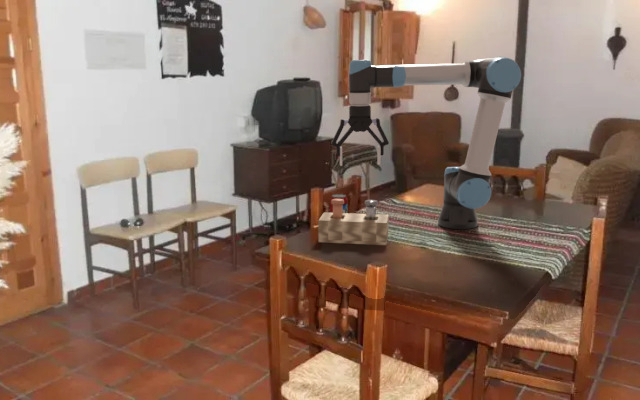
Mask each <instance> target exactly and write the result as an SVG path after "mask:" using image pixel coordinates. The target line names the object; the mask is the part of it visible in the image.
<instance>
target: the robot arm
mask: <svg viewBox="0 0 640 400" xmlns="http://www.w3.org/2000/svg"><path fill="white" fill-rule="evenodd" d="M348 70H349V71H348V86H349V87H348V90H349V91H348V94H349V95H348V97H349V98H348V99H349V100H348V102H349V103H348V104H350V105H349V108H348V110H349V111H348V113H349V115H348V116H349V117H348V119H344V118H341V119H340V121H339V126H338V129H337V130H336V132H335V135H334V136H333V139H332V140H331V146H333V147H335V148H336V156H337V157H339V166H340V167H343V146H342V145H343V144H344V143H345V141H346V140H347V139H348V138H349V137H350V135H351V134H352V133H353V132H356V133H359V132H362V133H364V132H366V131H367V132H368V133H369V134H370V136H371V137H372V138H373V139H374V140H375V141H376V142H377V143H378V145H377V153H376V155H377V162H376V163H377V165H378V166H381V161H382V160H381V156H383V155H384V154H385V153H384V150H385V149H384V147H385V146H388V145H389V143H390V142H389V140H388V138H387V136H386V134H385V131H384V130H383V128H382V126H381V121H380V119H379V118H378V117H377V118H373V119H372V114H371V113H372V112H371V111H372V110H371V109H372V108H371V107H372V106H371V105H370V104H372V103H371V100H372V99H371V98H372V96H371V95H372V89H371V88H374V89H375V88H395V89H396V88H402V87H405V86H448V85H451V86H452V85H453V86H454V85H455V86H456V85H458V86H459V85H463V87H464V88H477V94H478V96H479V98H480V99H479V103H478V107H477V112H476V117H475V121H474V125H473V129H472V132H471V133H472V134H471V137H470V141H469V145H468V148H467V152H466V153H467V154H466V156H465V157H466V158H465V161H464V163H463V164H461V166H447V167H446V168H445V170H444V174H443V177H444V180H443V181H444V182H443V203H442V206H441V209H440V213H439V215H438V220H437V224H438V225H439V226H441V227H442V228H446V229H451V230H452V229H454V230H471V229H475V228H477V227H478V224H479V223H478V221H479V220H478V218H477V213H476V209H477V210H478V209H480V208H482V207H484V206H485V205H486V204H488V202H489V201H490V199H491V197H492V187H491V185H490V182H491V179H492V173H491V171H490V169H489V168H490V165H491V161H492V157H493V152H494V148H495V146H496V145H495V144H496V140H497V136H498V134H499V133H498V131H499V129H500V124H501V121H502V116H503V113H504V109H505V105H506V103H507V102H510V100H512V95H513V91H514V90H515V89H516V88H517V87H518V86H519V84H520V82H521V79H522V71H521V68H520V66H519V64H518V63H517V62H516V61H515V60H514V59H512V58H509V57H506V56H499V57H498V56H497V57H486V58H482V59H481V58H480V59H475V60H465V61H464V62H463V63H437V64H436V63H434V64H433V63H432V64H431V63H429V64H428V63H427V64H425V63H424V64H422V63H421V64H379V65H372V61H371V60H370V59H352V60H351V61H350V62H349V69H348ZM347 124H348V125H349V128H348V130H347V131H346V132H345V134H343V136H342V137H341V138H339V137H340V135H341V133H342V131H343V129H344V127H345V126H346V125H347ZM372 124H373V125H374V126H376V128H377V131H378V132H379V135H380V136H381V138H382V141H381V139H380V138H379V137H378V136H377V134H376V133H375V132H374V131H373V129H372V128H370V127H371V125H372ZM338 140H339V141H338Z"/></svg>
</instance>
